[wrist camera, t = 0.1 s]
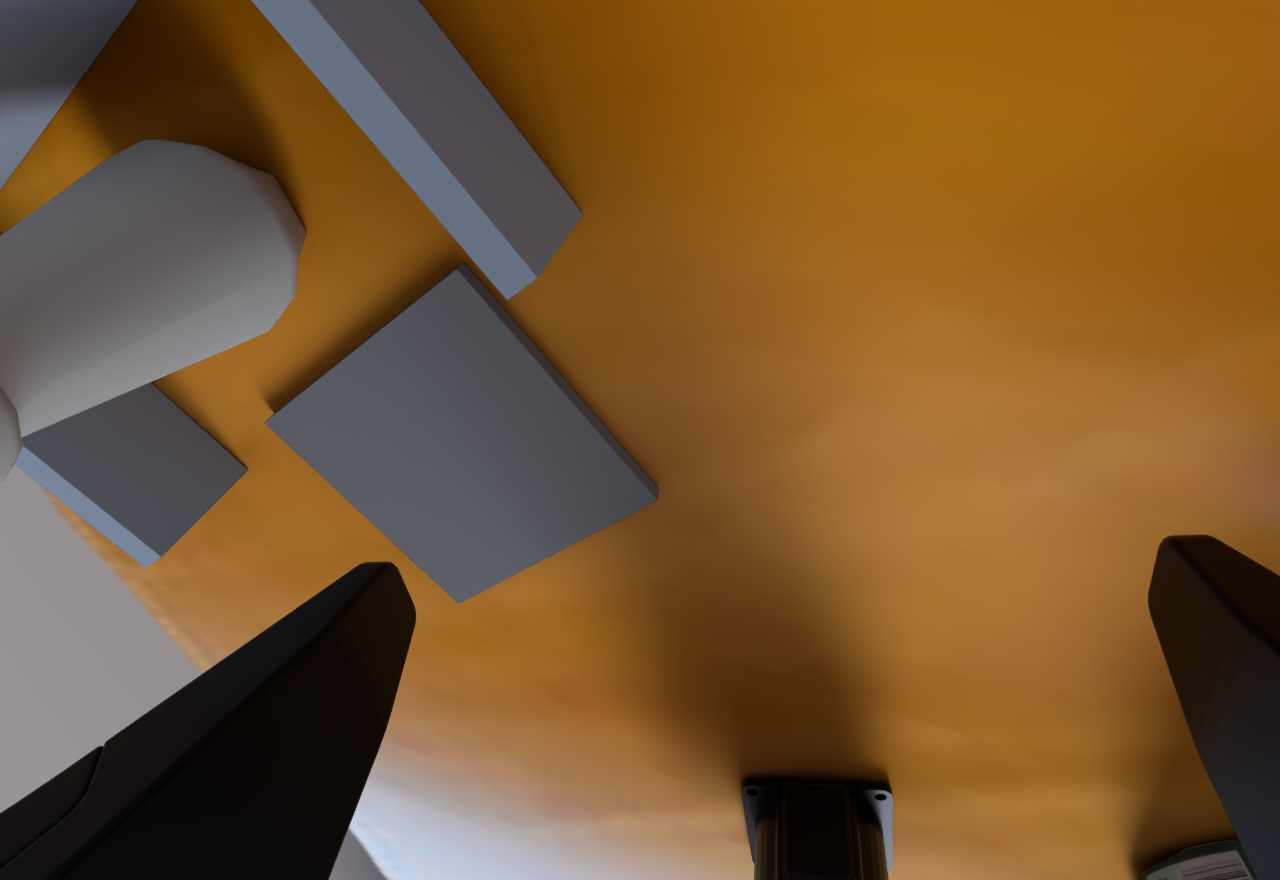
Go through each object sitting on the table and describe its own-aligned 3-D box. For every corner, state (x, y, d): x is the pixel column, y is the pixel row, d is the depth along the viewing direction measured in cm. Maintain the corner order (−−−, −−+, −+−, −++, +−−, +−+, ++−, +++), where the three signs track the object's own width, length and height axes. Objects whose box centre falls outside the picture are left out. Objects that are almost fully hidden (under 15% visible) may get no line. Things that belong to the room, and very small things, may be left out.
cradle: (583, 214, 22) (537, 277, 18) (233, 481, 30) (145, 568, 26) (240, -232, 18) (75, -284, 14) (-65, 217, 26) (-230, 271, 21)
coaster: (659, 489, 27) (657, 500, 27) (463, 593, 31) (458, 603, 31) (463, 262, 23) (457, 269, 23) (273, 414, 28) (264, 422, 27)
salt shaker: (148, 92, 22) (-453, 237, 11) (340, 163, 22) (-70, 370, 12) (157, 274, 25) (-304, 521, 15) (324, 334, 26) (-7, 620, 15)
